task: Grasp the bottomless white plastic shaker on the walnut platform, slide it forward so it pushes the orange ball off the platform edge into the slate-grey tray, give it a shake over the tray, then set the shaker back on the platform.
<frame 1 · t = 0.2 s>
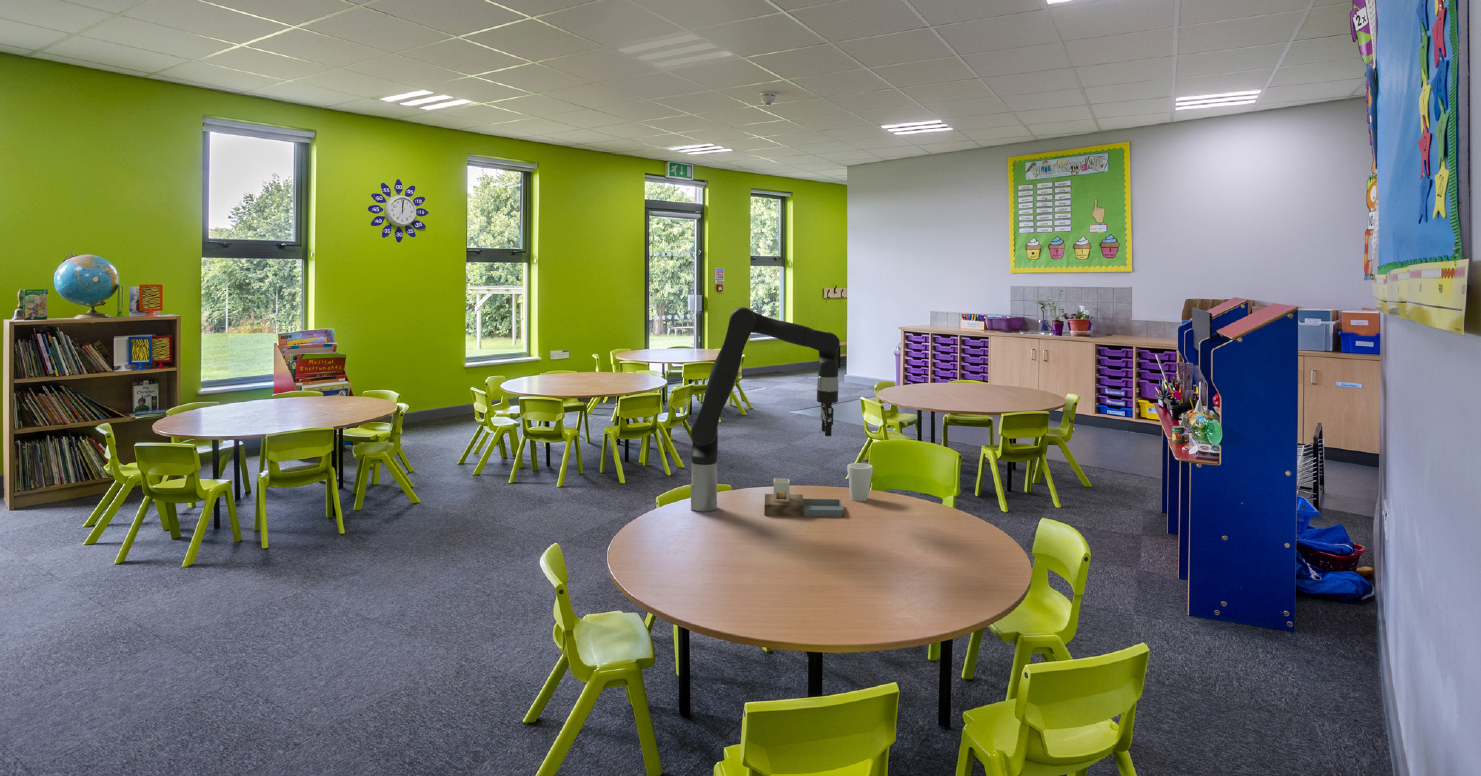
hand: (826, 433, 278), 28 cm above the table, tool pointing down, fingers open, 8 cm apart
tray: (822, 510, 281), on the table
ball: (781, 495, 281), point 5 cm above the table, touching platform
foam cup: (859, 499, 297), on the table
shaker: (781, 499, 281), point 4 cm above the table, touching platform
platform: (783, 510, 282), on the table
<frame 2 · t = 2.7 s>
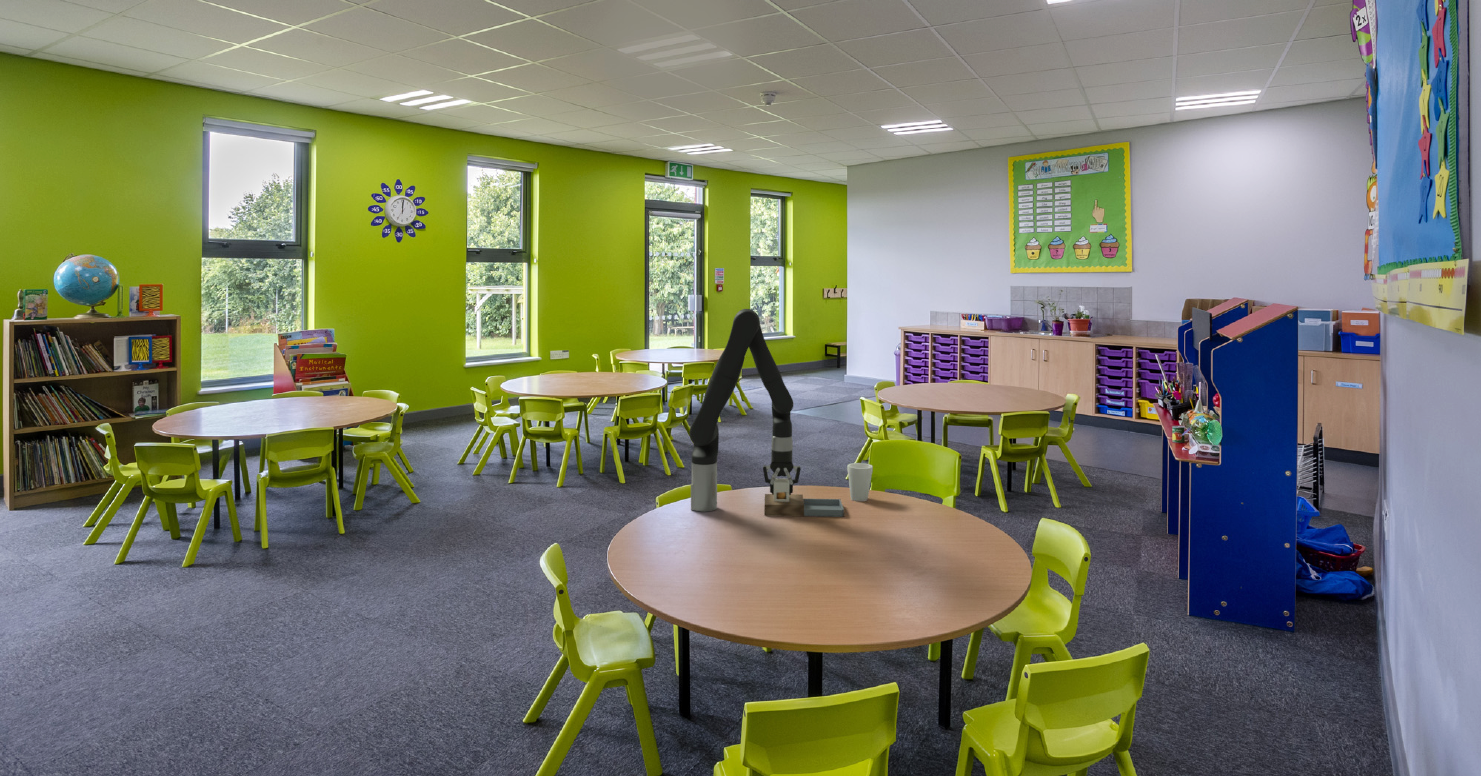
hand: (781, 493, 281), 6 cm above the table, tool pointing down, fingers closed on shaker, 5 cm apart
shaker: (781, 499, 281), point 4 cm above the table, touching gripper, platform
everything else where it was.
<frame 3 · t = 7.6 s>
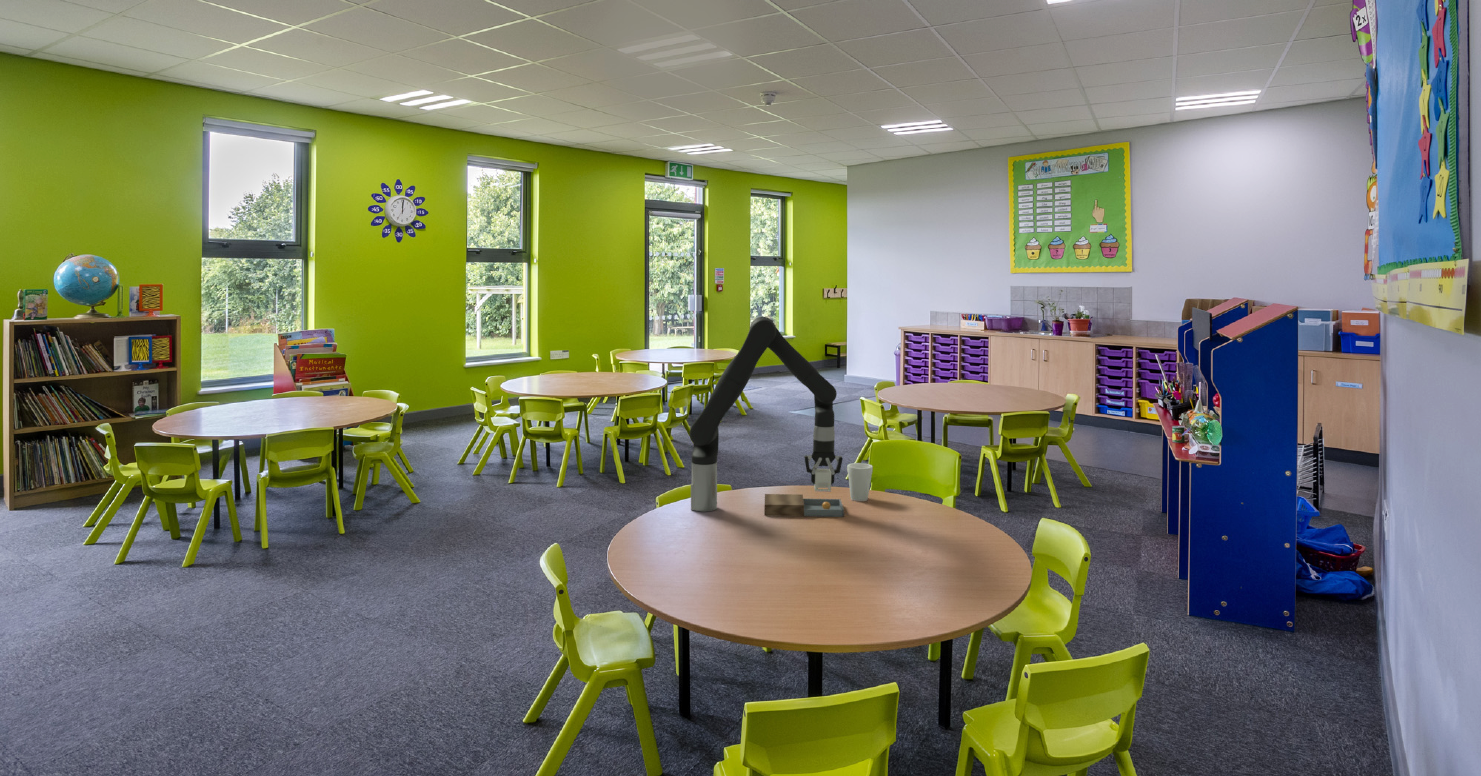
hand: (822, 483, 280), 10 cm above the table, tool pointing down, fingers closed on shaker, 5 cm apart
ball: (826, 505, 281), point 2 cm above the table, tilted 70°, touching tray
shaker: (822, 489, 280), point 8 cm above the table, touching gripper
everything else where it was.
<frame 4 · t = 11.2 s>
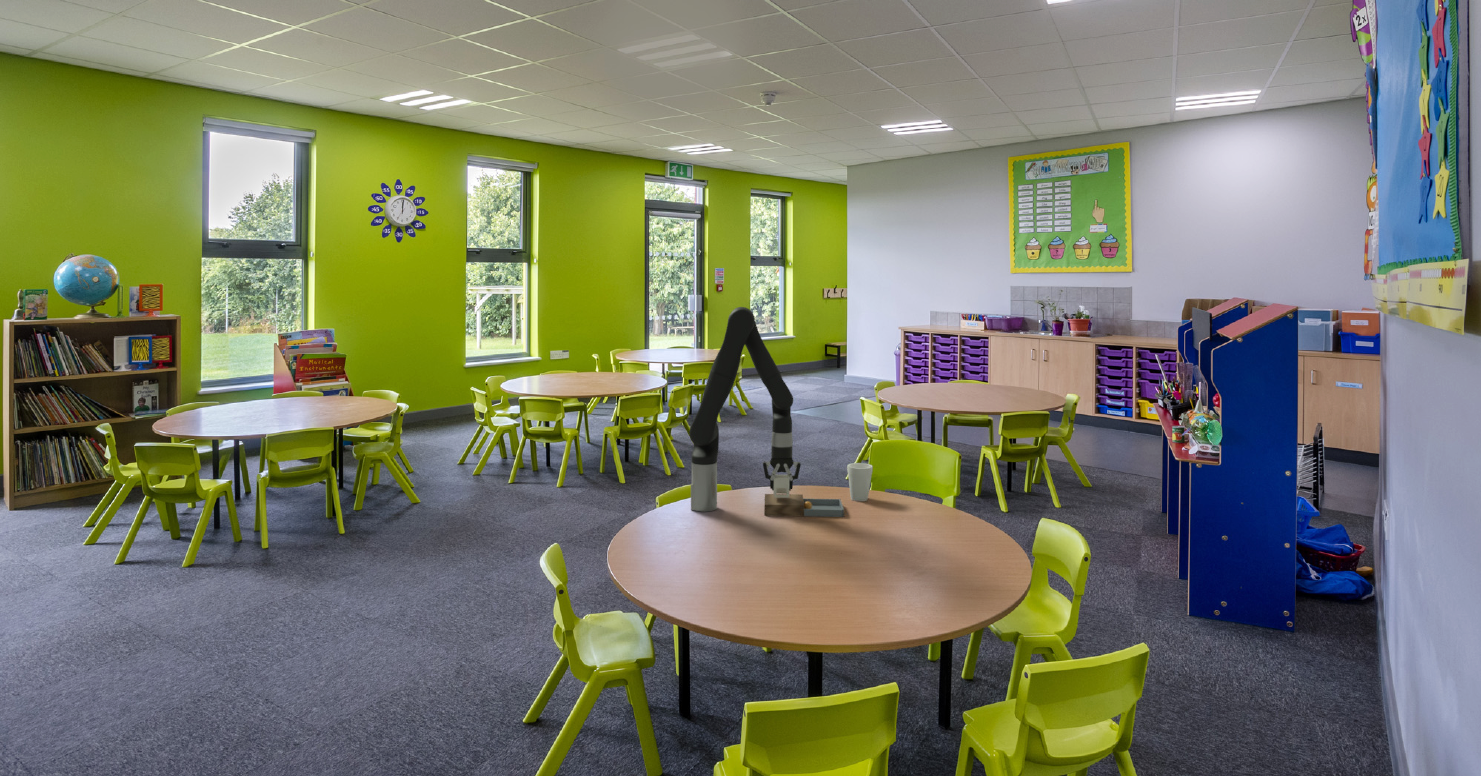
hand: (781, 489, 281), 8 cm above the table, tool pointing down, fingers closed on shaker, 5 cm apart
ball: (807, 505, 281), point 2 cm above the table, tilted 35°, touching tray
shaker: (781, 495, 281), point 5 cm above the table, touching gripper
everything else where it was.
when the fingers open (7 cm above the table, at t = 11.5 s): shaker drops 1 cm, resting on platform.
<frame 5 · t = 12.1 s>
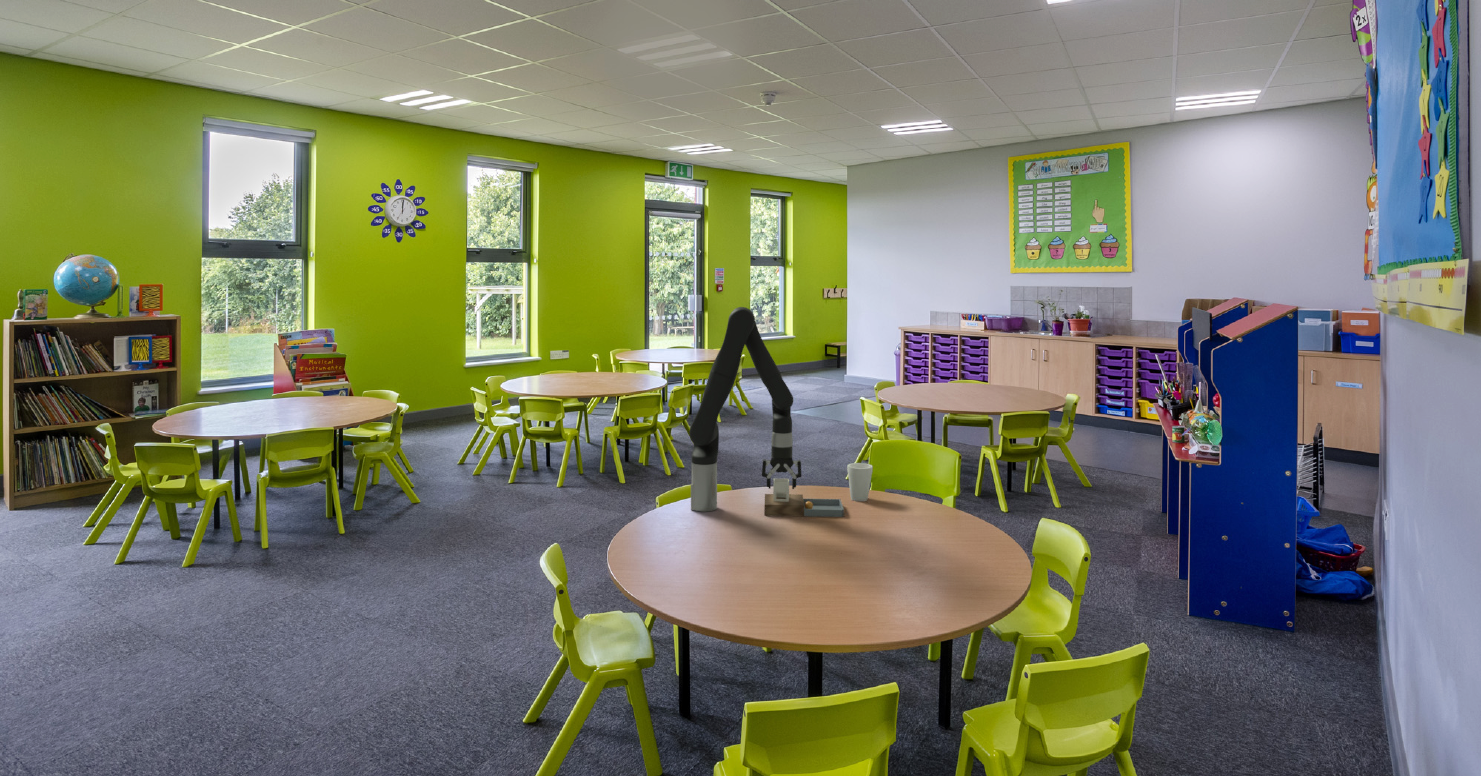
hand: (781, 488, 281), 8 cm above the table, tool pointing down, fingers open, 8 cm apart
ball: (808, 505, 281), point 2 cm above the table, tilted 50°, touching tray
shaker: (781, 499, 281), point 4 cm above the table, touching platform
everything else where it was.
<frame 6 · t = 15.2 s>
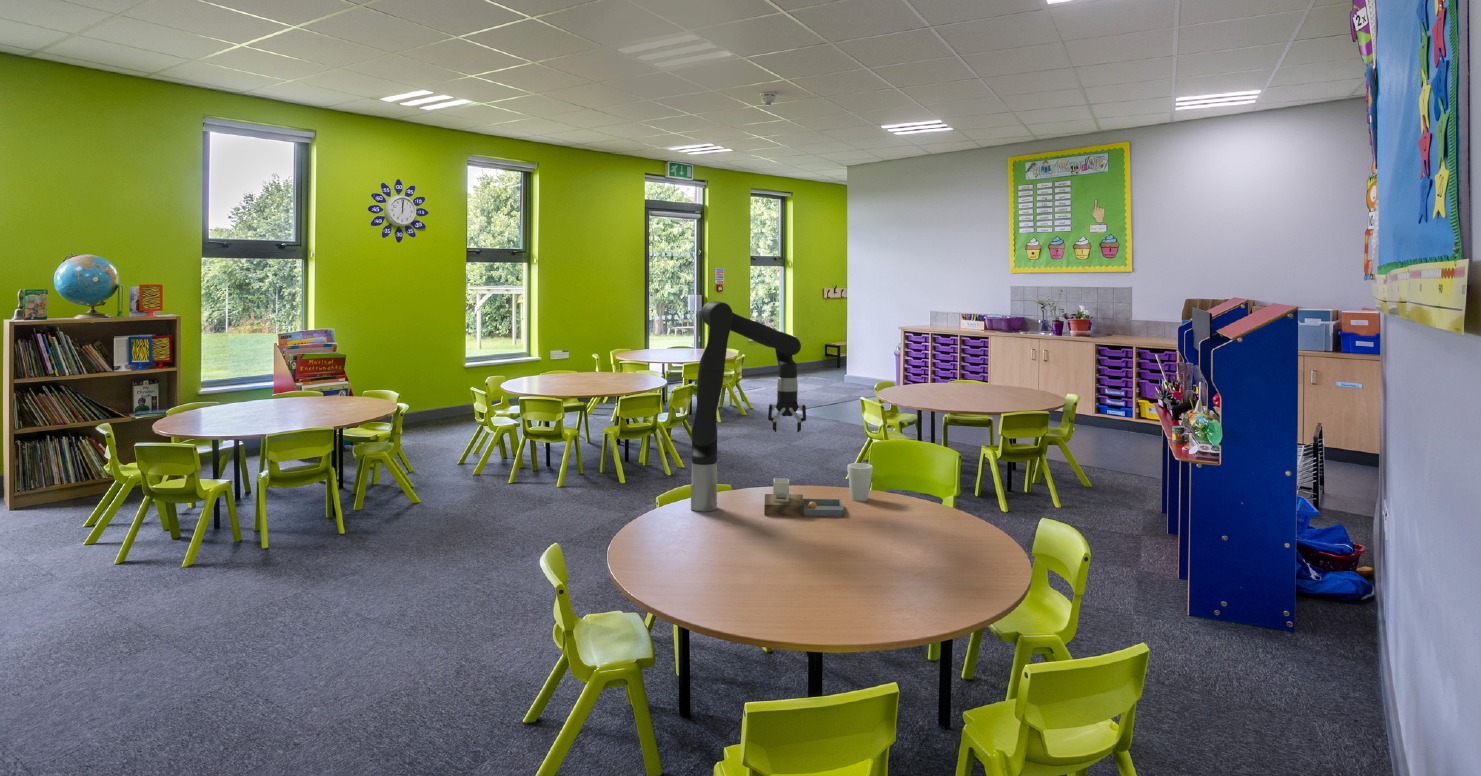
hand: (786, 431, 293), 26 cm above the table, tool pointing down, fingers open, 8 cm apart
ball: (812, 505, 281), point 2 cm above the table, tilted 99°, touching tray
everything else where it was.
at the end: ball inside the target area on the tray (3.7 cm from its centre), point 1.9 cm above the tray's base; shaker tilted 0°; the gripper is holding nothing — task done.
